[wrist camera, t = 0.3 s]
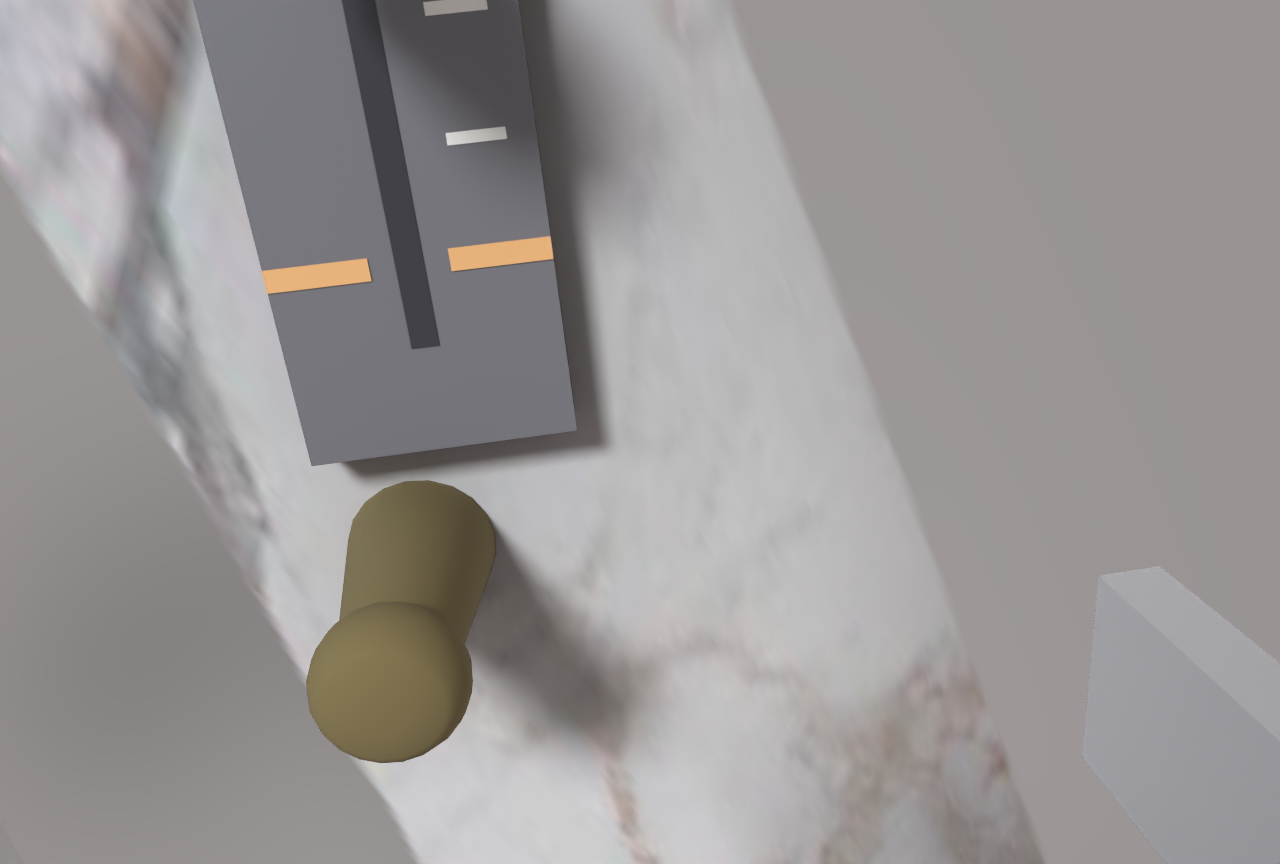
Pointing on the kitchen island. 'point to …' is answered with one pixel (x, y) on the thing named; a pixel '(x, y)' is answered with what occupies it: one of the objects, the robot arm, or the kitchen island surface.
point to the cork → (403, 623)
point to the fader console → (396, 217)
